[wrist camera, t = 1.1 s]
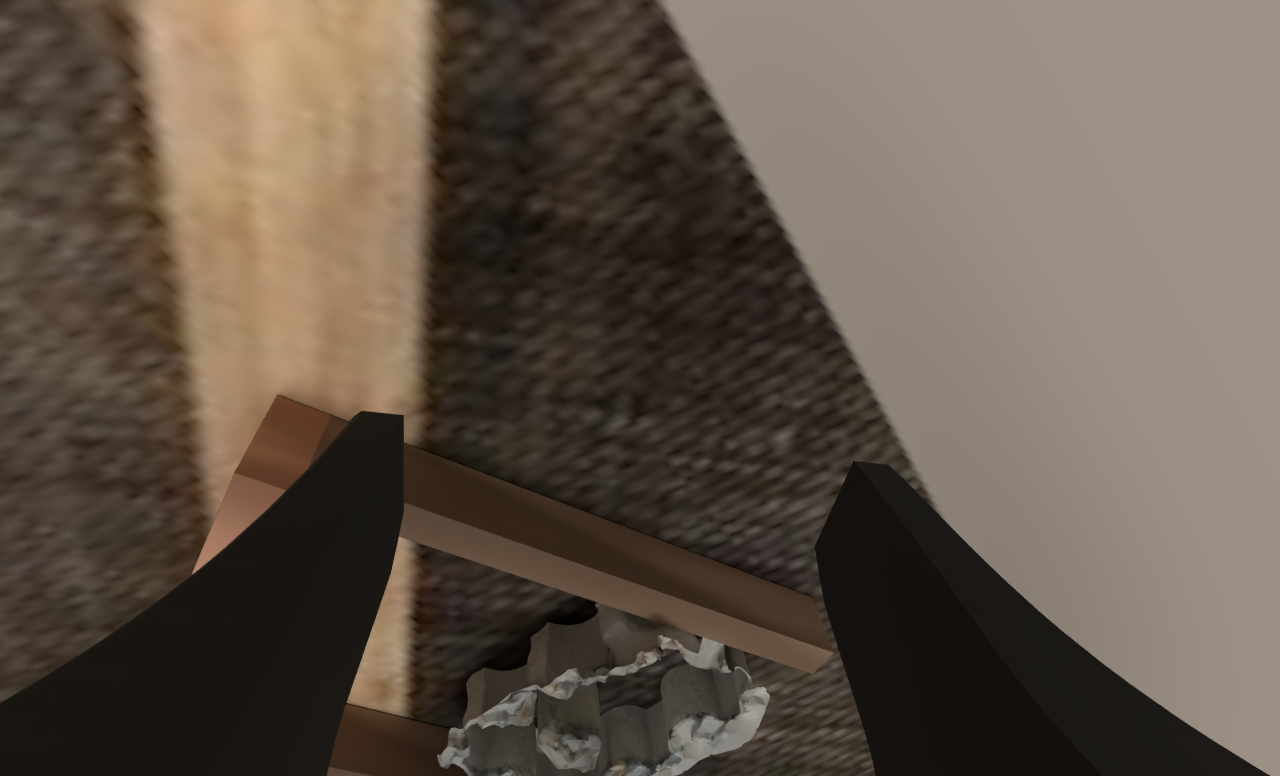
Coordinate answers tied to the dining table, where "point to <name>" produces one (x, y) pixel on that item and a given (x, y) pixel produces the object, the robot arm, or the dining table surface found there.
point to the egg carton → (622, 737)
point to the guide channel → (518, 570)
